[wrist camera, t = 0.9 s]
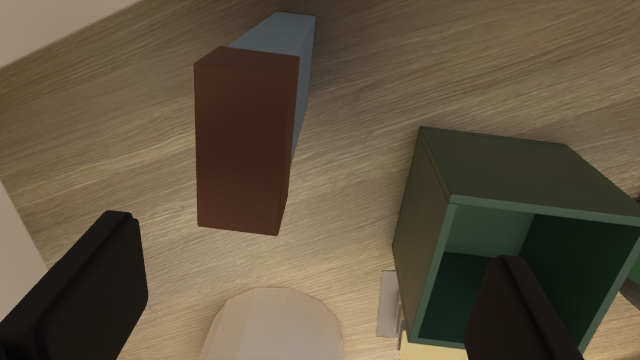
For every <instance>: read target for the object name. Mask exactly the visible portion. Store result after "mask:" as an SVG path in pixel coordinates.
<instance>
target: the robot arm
mask: <svg viewBox="0 0 640 360" xmlns="http://www.w3.org/2000/svg"><path fill="white" fill-rule="evenodd" d="M147 301H148V288H147V280H146V273H145V265H144V257H143V250H142V242H141V234H140V227H139V221H138V220H137V219H134V218H133V216H132V214H131V213H129V212H121V211H112V210H107V211H105V212H104V213H103V214H102V215H101V216H100V217H99V218H98V219H97V221H96V222H95V223H94V224H93V225H92V226H91V227H90V228H89V229H88V230H87V231H86V232H85V233H84V235H83V236H82V237H81V238H80V239H79V240H78V241H77V242H76V243H75V244H74V245H73V246H72V247H71V248H70V250H69V251H68V252H67V253H66V254H65V255H64V256H63V257H62V258H61V259H60V260H59V261H57V262H56V263H55V264H54V266H53V267H52V268H51V269H50V270H49V271H48V272H47V273H46V274H45V275H44V276H43V277H42V278H41V279H40V281H39V282H38V283H37V284H36V285H35V286H34V287H33V288H32V289H31V290H30V291H29V292H28V293H27V295H25V297H24V298H23V299H22V300H21V301H20V302H19V303H18V304H17V305H16V306H15V307H14V308H13V310H11V312H10V313H9V314H8V315H7V316H6V317H5V318H4V319H3V320H2V321H1V322H0V360H116V359H117V357H118V355H119V353H120V352H121V350H122V348H123V346H124V345H125V343H126V341H127V339H128V338H129V336H130V334H131V332H132V331H133V329H134V327H135V325H136V323H137V322H138V320H139V318H140V316H141V315H142V313H143V311H144V309H145V307H146V305H147ZM463 341H464V346H465V349H466V353H467V356H468V360H584V358H583V357H582V355H581V353H580V352H579V350H578V348H577V346H576V345H575V343H574V341H573V339H572V338H571V336H570V334H569V332H568V331H567V329H566V327H565V326H564V324H563V322H562V320H561V319H560V317H559V316H558V315H557V314H556V312H555V310H554V309H553V307H552V305H551V304H550V302H549V300H548V298H547V297H546V295H545V293H544V291H543V290H542V288H541V286H540V284H539V283H538V281H537V279H536V277H535V276H534V274H533V272H532V270H531V269H530V267H529V265H528V263H527V262H526V260H525V259H524V258H523V257H520V256H511V255H502V254H501V255H498V256H497V258H496V259H491V260H490V261H489V263H488V266H487V269H486V272H485V274H484V277H483V280H482V283H481V285H480V288H479V291H478V293H477V296H476V299H475V302H474V304H473V307H472V310H471V313H470V315H469V318H468V321H467V323H466V326H465V329H464V334H463Z"/></svg>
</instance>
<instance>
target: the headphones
mask: <svg viewBox="0 0 640 360" xmlns="http://www.w3.org/2000/svg"><path fill="white" fill-rule="evenodd" d="M619 291H620V293H621V294H622V295H623V296H624V297H625V298H626V299H627V300H628V301H629V302H630V303H631V304H632V305H634V306H635V307H637V308H638V309H639V310H640V254H639V256H638V258H637V260H636V261H635V263H634V265H633V267H632V268H631V270H630V272H629V274H628V275H627V277H626V279H625V281H624V283H623V284H622V286H621V288H620V290H619Z"/></svg>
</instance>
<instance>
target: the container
mask: <svg viewBox="0 0 640 360" xmlns="http://www.w3.org/2000/svg"><path fill="white" fill-rule="evenodd" d="M198 360H343V339H342V334H341V328H340V323H339V320H338V319H337V318H336V317H335V316H334V315H333V314H332V313H331V312H330V311H329V310H328V309H327V308H326V307H325V305H324V304H323V303H322V302H321V301H320V300H317V299H315V298H313V297H310V296H308V295H305V294H303V293H300V292H298V291H296V290H293V289H291V288H253V289H251V290H248V291H246V292H244V293H241V294H239V295H237V296H234V297H232V298H229V299H228V300H227V301H226V303H225V304H224V305H223V307H222V308H221V309H220V311H219V312H218V314H217V315H216V316H215V318H214V319H213V322H212V324H211V327H210V330H209V333H208V335H207V338H206V341H205V343H204V346H203V349H202V351H201V354H200V357H199V359H198Z"/></svg>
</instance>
